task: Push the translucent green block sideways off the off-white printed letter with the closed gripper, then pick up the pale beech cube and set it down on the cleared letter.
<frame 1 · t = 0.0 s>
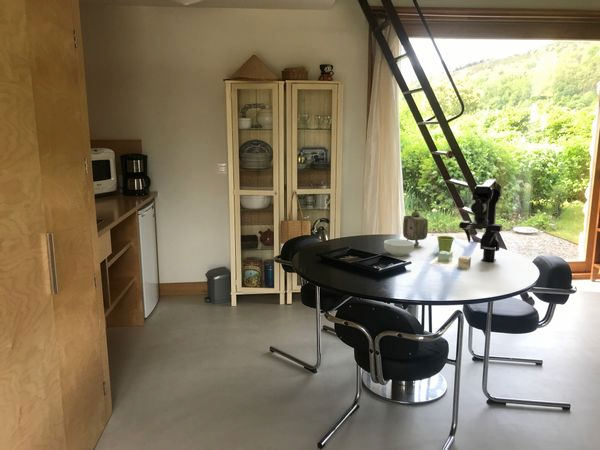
hand: (479, 243, 231), 15 cm above the table, fingers open, 9 cm apart
translucent green block: (444, 260, 258), resting on letter
plant pot: (444, 252, 276), on the table
cereal bowl: (398, 254, 271), on the table
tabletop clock: (414, 244, 295), on the table
cube: (464, 267, 245), on the table
letter: (445, 261, 255), on the table
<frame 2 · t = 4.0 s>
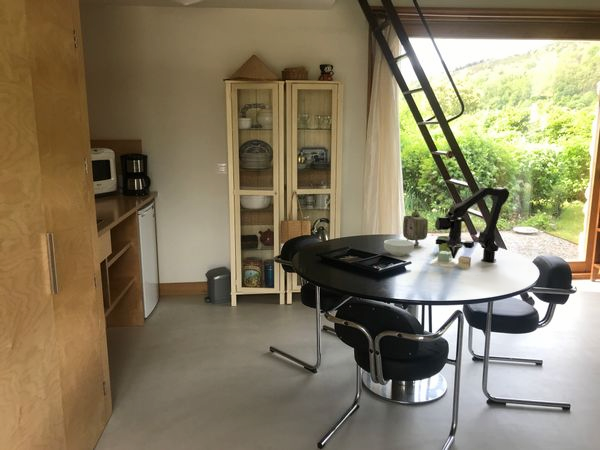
hand: (453, 258, 255), 2 cm above the table, fingers closed
translucent green block: (444, 260, 258), resting on letter, touching gripper
everything else where it was.
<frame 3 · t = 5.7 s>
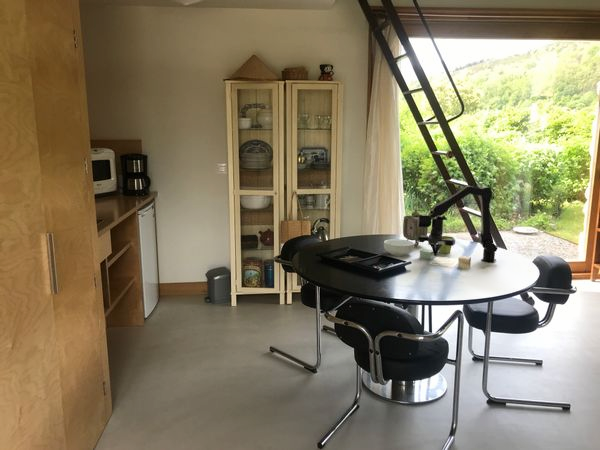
hand: (435, 256, 260), 2 cm above the table, fingers closed
translucent green block: (426, 257, 263), on the table, touching gripper
everything else where it was.
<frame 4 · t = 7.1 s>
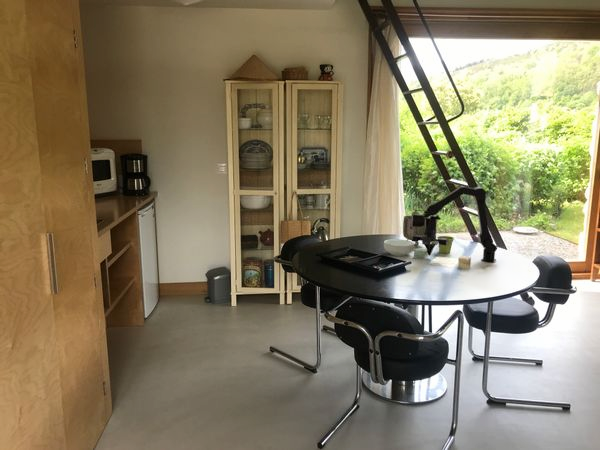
hand: (429, 255, 262), 2 cm above the table, fingers closed
translucent green block: (420, 257, 265), on the table
everything else where it was.
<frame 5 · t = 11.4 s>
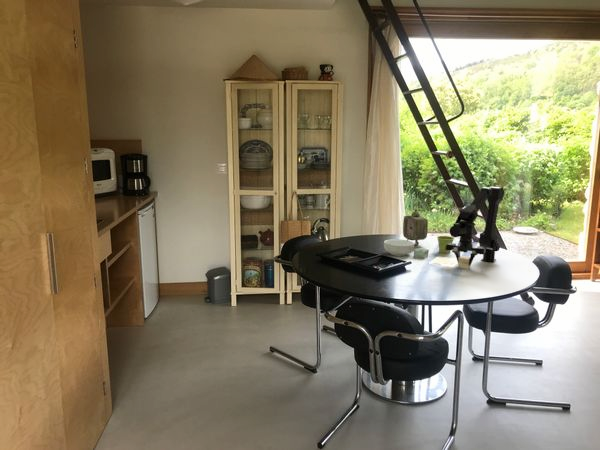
hand: (464, 264, 245), 1 cm above the table, fingers closed on cube, 5 cm apart
cube: (464, 266, 245), on the table, touching gripper
everything else where it was.
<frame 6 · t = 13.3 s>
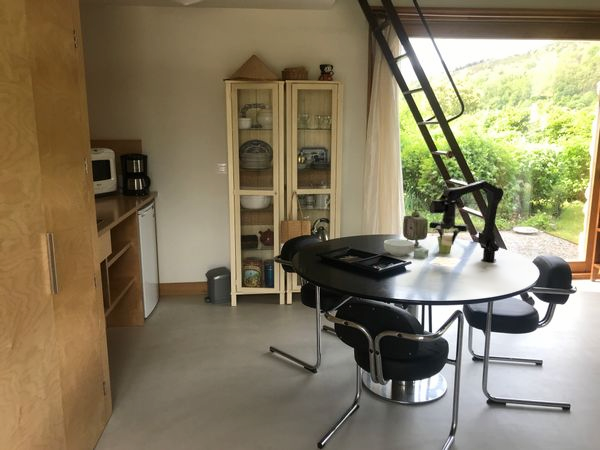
hand: (447, 242, 251), 11 cm above the table, fingers closed on cube, 5 cm apart
cube: (447, 244, 251), point 10 cm above the table, touching gripper
everything else where it was.
when the fingers open (2 cm above the table, at t = 15.3 s): cube drops 1 cm, resting on letter.
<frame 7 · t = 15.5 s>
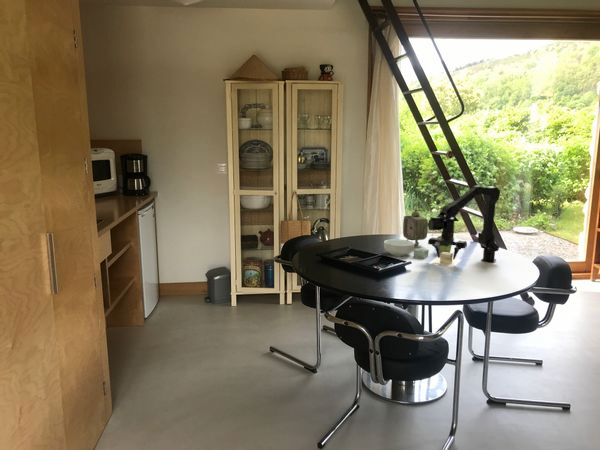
hand: (446, 258, 253), 2 cm above the table, fingers open, 7 cm apart
cube: (446, 262, 253), resting on letter
everything else where it was.
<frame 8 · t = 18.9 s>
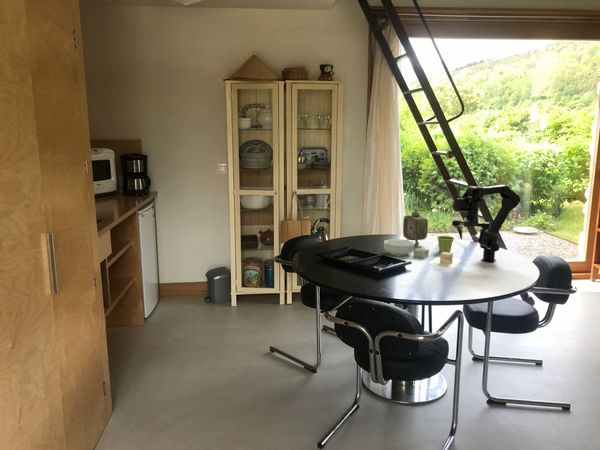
hand: (470, 240, 251), 12 cm above the table, fingers open, 9 cm apart
nothing on the table moved.
at the end: cube inside the target area on the letter (2.3 cm from its centre), point 0.1 cm above the letter's base; translucent green block inside the target area (16.8 cm from its centre), on the table; cube tilted 0° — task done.
